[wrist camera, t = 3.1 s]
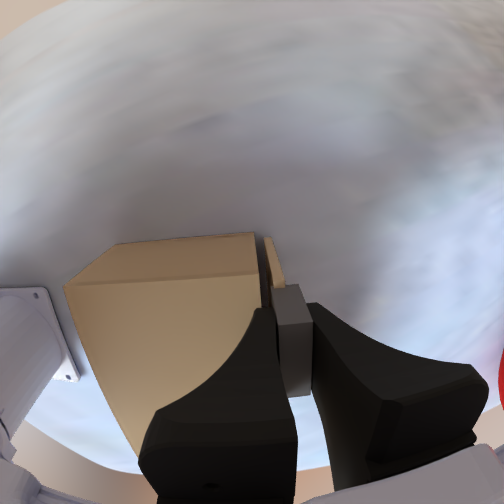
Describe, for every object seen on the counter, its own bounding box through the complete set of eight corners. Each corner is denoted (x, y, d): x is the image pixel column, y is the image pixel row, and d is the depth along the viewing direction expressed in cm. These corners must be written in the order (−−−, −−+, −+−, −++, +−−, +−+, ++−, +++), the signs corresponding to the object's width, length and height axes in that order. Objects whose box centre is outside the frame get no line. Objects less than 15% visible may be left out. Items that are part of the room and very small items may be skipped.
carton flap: (272, 401, 20) (283, 499, 12) (261, 237, 16) (277, 316, 8) (286, 399, 20) (301, 497, 12) (280, 236, 16) (313, 312, 8)
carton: (160, 405, 20) (143, 466, 15) (114, 244, 16) (62, 286, 11) (266, 402, 20) (272, 468, 15) (253, 232, 16) (258, 274, 11)
